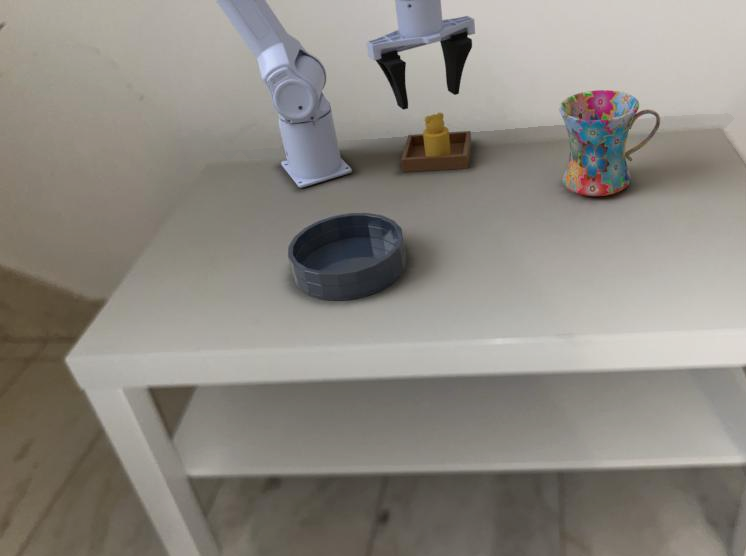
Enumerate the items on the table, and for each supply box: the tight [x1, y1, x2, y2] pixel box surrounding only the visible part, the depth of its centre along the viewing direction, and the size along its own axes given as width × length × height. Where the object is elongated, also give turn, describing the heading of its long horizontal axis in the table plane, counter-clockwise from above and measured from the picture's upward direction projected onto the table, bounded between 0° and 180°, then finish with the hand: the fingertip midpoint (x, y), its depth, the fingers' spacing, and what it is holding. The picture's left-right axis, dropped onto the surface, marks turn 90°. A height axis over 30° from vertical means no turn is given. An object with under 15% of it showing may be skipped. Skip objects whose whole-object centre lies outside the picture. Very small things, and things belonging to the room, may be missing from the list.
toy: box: [422, 112, 451, 156], centre depth 108 cm, size 4×4×6 cm
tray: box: [400, 130, 472, 173], centre depth 109 cm, size 9×8×2 cm
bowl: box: [287, 212, 407, 302], centre depth 88 cm, size 13×13×4 cm
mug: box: [558, 89, 661, 197], centre depth 95 cm, size 12×9×11 cm
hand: (428, 99), depth 104 cm, fingers open, 7 cm apart
